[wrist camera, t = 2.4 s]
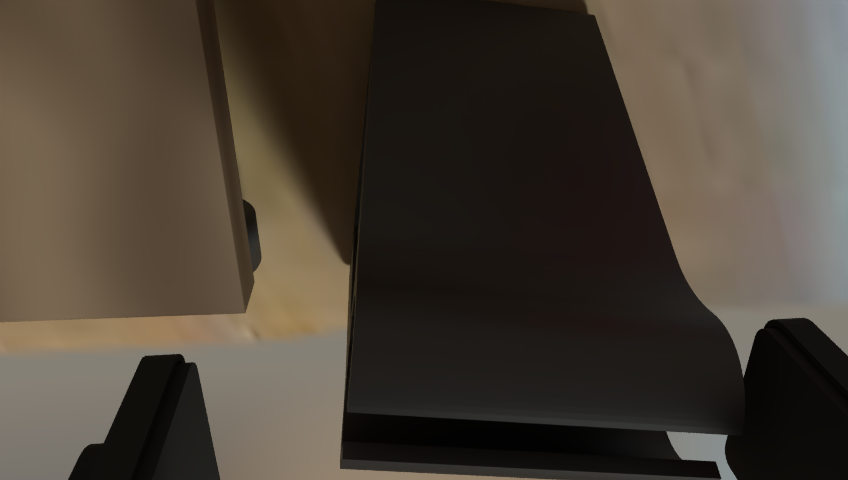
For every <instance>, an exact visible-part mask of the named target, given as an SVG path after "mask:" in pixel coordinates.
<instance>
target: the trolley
mask: <svg viewBox="0 0 848 480" xmlns="http://www.w3.org/2000/svg"><path fill="white" fill-rule="evenodd" d="M260 262H261V249H260V242H259V235H258V228H257V220H256V213H255V209H254V208H253V206H252V205H251V204H250V203H248V202H247V201H245V200H243V199H242V194H241V187H240V180H239V173H238V167H237V160H236V153H235V146H234V139H233V133H232V126H231V119H230V112H229V105H228V99H227V92H226V85H225V78H224V71H223V64H222V58H221V51H220V44H219V37H218V30H217V24H216V17H215V10H214V3H213V0H0V322H18V321H46V320H73V319H100V318H128V317H155V316H182V315H210V314H237V313H245V312H246V309H247V305H248V302H249V299H250V295H251V292H252V289H253V285H254V276H253V272H254V271H255V270H256V269H257V267H258V266H259V264H260Z"/></svg>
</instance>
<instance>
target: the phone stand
mask: <svg viewBox="0 0 848 480" xmlns="http://www.w3.org/2000/svg"><path fill="white" fill-rule="evenodd" d="M744 419H745V389H744V380H743V374H742V369H741V364H740V360H739V357H738V354H737V350H736V348H735V345H734V343H733V340H732V338H731V336H730V334H729V333H728V331H727V329H726V327H725V326H724V325H723V323H722V322H721V321H720V319H719V318H718V317H717V316H716V315H714V314H713V313H712V312H711V311H710V310H709V309H707V308H706V307H705V306H704V305H703V304H702V302H701V301H700V300H699V299H698V298H697V296H696V295H695V294H694V292H693V291H692V289H691V288H690V286H689V284H688V282H687V281H686V279H685V277H684V275H683V273H682V271H681V268H680V266H679V263H678V261H677V258H676V255H675V252H674V249H673V246H672V243H671V240H670V237H669V234H668V231H667V228H666V225H665V222H664V219H663V216H662V214H661V211H660V208H659V205H658V202H657V199H656V196H655V193H654V190H653V187H652V184H651V181H650V178H649V175H648V172H647V169H646V166H645V163H644V160H643V157H642V154H641V151H640V148H639V145H638V142H637V139H636V136H635V133H634V130H633V128H632V125H631V122H630V119H629V116H628V113H627V110H626V107H625V104H624V101H623V98H622V95H621V92H620V89H619V86H618V83H617V80H616V77H615V74H614V71H613V68H612V65H611V62H610V59H609V56H608V53H607V50H606V47H605V44H604V41H603V39H602V36H601V33H600V30H599V27H598V24H597V21H596V18H595V16H594V15H590V14H582V13H575V12H567V11H560V10H552V9H545V8H537V7H530V6H522V5H515V4H507V3H499V2H492V1H484V0H376V3H375V13H374V24H373V34H372V44H371V55H370V65H369V76H368V86H367V97H366V107H365V117H364V128H363V139H362V149H361V159H360V170H359V180H358V190H357V201H356V211H355V222H354V232H353V243H352V253H351V263H350V275H349V301H348V328H347V356H346V378H345V395H344V411H343V424H342V439H341V455H340V469H355V470H356V469H357V470H376V471H396V472H416V473H436V474H457V475H476V476H496V477H516V478H538V479H557V480H720V479H721V477H720V473H719V470H718V467H717V464H716V462H714V461H696V460H695V461H694V460H682V459H681V458H680V457H679V456H678V455H677V453H676V452H675V450H674V448H673V447H672V445H671V443H670V440H669V438H668V435H667V432H666V431H671V432H688V433H706V434H722V435H739V436H742V433H743V427H744Z"/></svg>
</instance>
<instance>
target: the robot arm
mask: <svg viewBox="0 0 848 480" xmlns="http://www.w3.org/2000/svg"><path fill="white" fill-rule="evenodd" d="M743 380H744V389H745V419H744V427H743V433H742V436H739V435H728V436H727V440H726V444H725V455H726V460H727V463H728V465H729V467H730V469H731V470H732V472H733V473H734V475H735V476H736V478H737V480H848V356H847V355H846V354H845V353H844V352H843V351H842V350H841V349H840V348H839V347H838V346H837V345H836V344H835V343H834V342H833V341H832V340H830V338H829V337H828V336H827V335H826V334H824V333H823V332H822V331H821V330H820V329H819V328H818V327H817V326H816V325H815V324H814V323H813V322H812V321H810V320H809V319H806V318H792V319H776V320H775V319H774V320H770V321H768V322H767V324H766V325H765V327H764V329H760V330H759V331H758V332H757V333H756V336H755V339H754V342H753V346H752V350H751V353H750V357H749V360H748V364H747V368H746V371H745V375H744V378H743ZM68 480H220V476H219V472H218V467H217V462H216V457H215V452H214V447H213V443H212V437H211V433H210V427H209V423H208V418H207V413H206V408H205V403H204V398H203V393H202V388H201V383H200V379H199V374H198V369H197V366H196V364H195V363H193V362H191V363H185V360H184V358H183V356H182V355H181V354H172V355H154V356H145V357H143V358H142V359H141V361H140V363H139V365H138V368H137V370H136V372H135V374H134V377H133V379H132V381H131V383H130V385H129V388H128V390H127V392H126V394H125V397H124V399H123V401H122V403H121V406H120V408H119V410H118V412H117V415H116V417H115V419H114V422H113V424H112V426H111V428H110V430H109V433H108V435H107V437H106V439H105V441H104V443H102V444H90V445H88V446H87V447H86V448H84V450H83V452H82V453H81V455H80V456H79V458H78V460H77V462H76V465H75V467H74V469H73V471H72V473H71V475H70V477H69V479H68Z"/></svg>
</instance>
